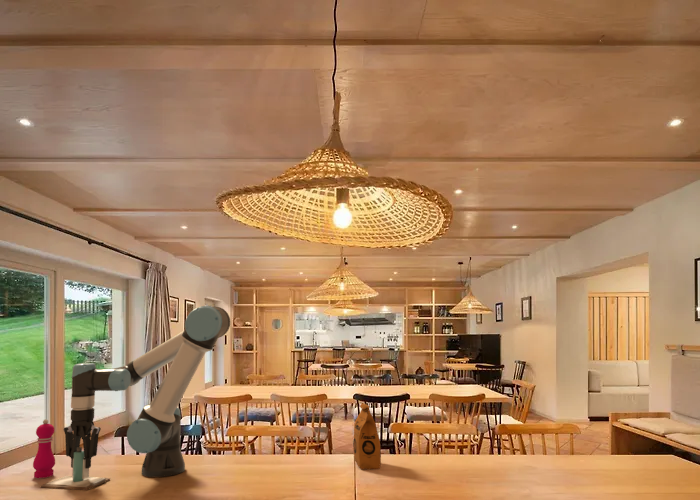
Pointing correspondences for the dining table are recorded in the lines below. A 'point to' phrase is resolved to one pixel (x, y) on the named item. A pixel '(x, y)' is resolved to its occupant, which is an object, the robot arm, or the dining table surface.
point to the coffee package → (366, 440)
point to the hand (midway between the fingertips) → (80, 477)
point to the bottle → (78, 465)
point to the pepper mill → (44, 451)
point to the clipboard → (75, 483)
